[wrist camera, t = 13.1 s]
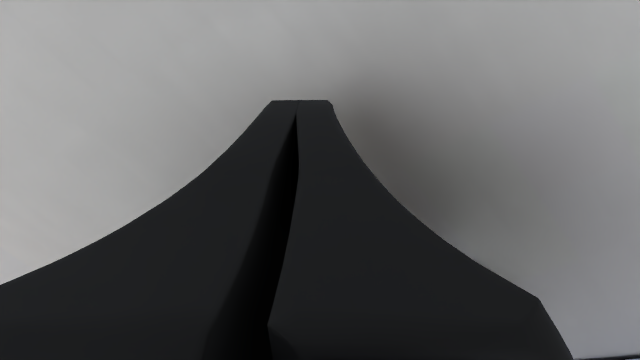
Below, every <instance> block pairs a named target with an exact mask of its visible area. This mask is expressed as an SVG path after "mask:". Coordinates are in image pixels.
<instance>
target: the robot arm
mask: <svg viewBox="0 0 640 360" xmlns="http://www.w3.org/2000/svg"><path fill="white" fill-rule="evenodd" d="M0 360H573V357H572V355H571V353H570V351H569V349H568V347H567V346H566V344H565V342H564V340H563V338H562V337H561V335H560V333H559V331H558V330H557V328H556V326H555V325H554V323H553V321H552V320H551V318H550V317H549V315H548V313H547V312H546V310H545V308H544V307H543V305H542V303H541V301H540V300H539V299H538V298H537V297H535V296H533V295H532V294H530V293H528V292H526V291H525V290H523V289H521V288H520V287H518V286H516V285H514V284H513V283H511V282H509V281H507V280H506V279H504V278H502V277H501V276H499V275H497V274H495V273H494V272H492V271H490V270H488V269H487V268H485V267H483V266H482V265H480V264H478V263H477V262H475V261H474V260H472V259H471V258H469V257H468V256H466V255H465V254H463V253H462V252H460V251H459V250H458V249H456V248H455V247H453V246H452V245H450V244H449V243H447V242H446V241H445V240H443V239H442V238H441V237H439V236H438V235H437V234H435V233H434V232H433V231H432V230H430V229H429V228H428V227H427V226H426V225H424V224H423V223H422V222H421V221H419V220H418V219H417V218H416V217H415V216H413V215H412V214H411V213H410V212H409V211H408V210H407V209H406V208H405V207H403V206H402V205H401V204H400V203H399V202H398V201H397V200H396V199H395V198H394V197H393V196H392V195H391V194H390V193H389V191H388V190H387V189H386V188H385V187H384V186H383V185H382V184H381V183H380V182H379V180H378V179H377V178H376V177H375V176H374V174H373V173H372V172H371V171H370V169H369V168H368V167H367V166H366V164H365V163H364V162H363V160H362V159H361V157H360V156H359V155H358V153H357V152H356V150H355V149H354V147H353V146H352V144H351V142H350V141H349V139H348V138H347V136H346V134H345V133H344V131H343V129H342V127H341V125H340V123H339V121H338V119H337V117H336V115H335V112H334V109H333V105H332V104H331V103H330V102H329V101H328V100H279V101H271V102H270V103H269V104H268V105H267V106H266V107H265V108H264V109H263V111H262V112H261V113H260V114H259V115H258V117H257V118H256V119H255V120H254V121H253V122H252V123H251V125H250V126H249V127H248V128H247V129H246V130H245V131H244V132H243V134H242V135H241V136H240V137H239V138H238V139H237V140H236V141H235V142H234V143H233V144H232V145H231V146H230V147H229V148H228V149H227V150H226V151H225V152H224V153H223V154H222V155H221V156H220V157H219V158H218V159H217V160H216V161H215V162H214V163H212V164H211V165H210V166H209V167H208V168H207V169H206V170H205V171H204V172H202V173H201V174H200V175H199V176H198V177H196V178H195V179H194V180H193V181H191V182H190V183H189V184H187V185H186V186H185V187H183V188H182V189H181V190H179V191H178V192H177V193H175V194H174V195H172V196H171V197H170V198H168V199H167V200H165V201H164V202H162V203H161V204H159V205H157V206H156V207H154V208H153V209H151V210H149V211H148V212H146V213H145V214H143V215H141V216H140V217H138V218H137V219H135V220H133V221H132V222H130V223H129V224H127V225H125V226H124V227H122V228H120V229H118V230H116V231H115V232H113V233H111V234H109V235H107V236H105V237H103V238H102V239H100V240H98V241H96V242H94V243H92V244H90V245H88V246H86V247H84V248H82V249H80V250H78V251H76V252H74V253H72V254H70V255H68V256H66V257H64V258H62V259H60V260H57V261H55V262H53V263H51V264H49V265H46V266H44V267H42V268H39V269H37V270H35V271H32V272H30V273H28V274H25V275H23V276H21V277H18V278H16V279H14V280H11V281H9V282H7V283H4V284H2V285H0ZM627 360H640V358H639V359H627Z"/></svg>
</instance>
